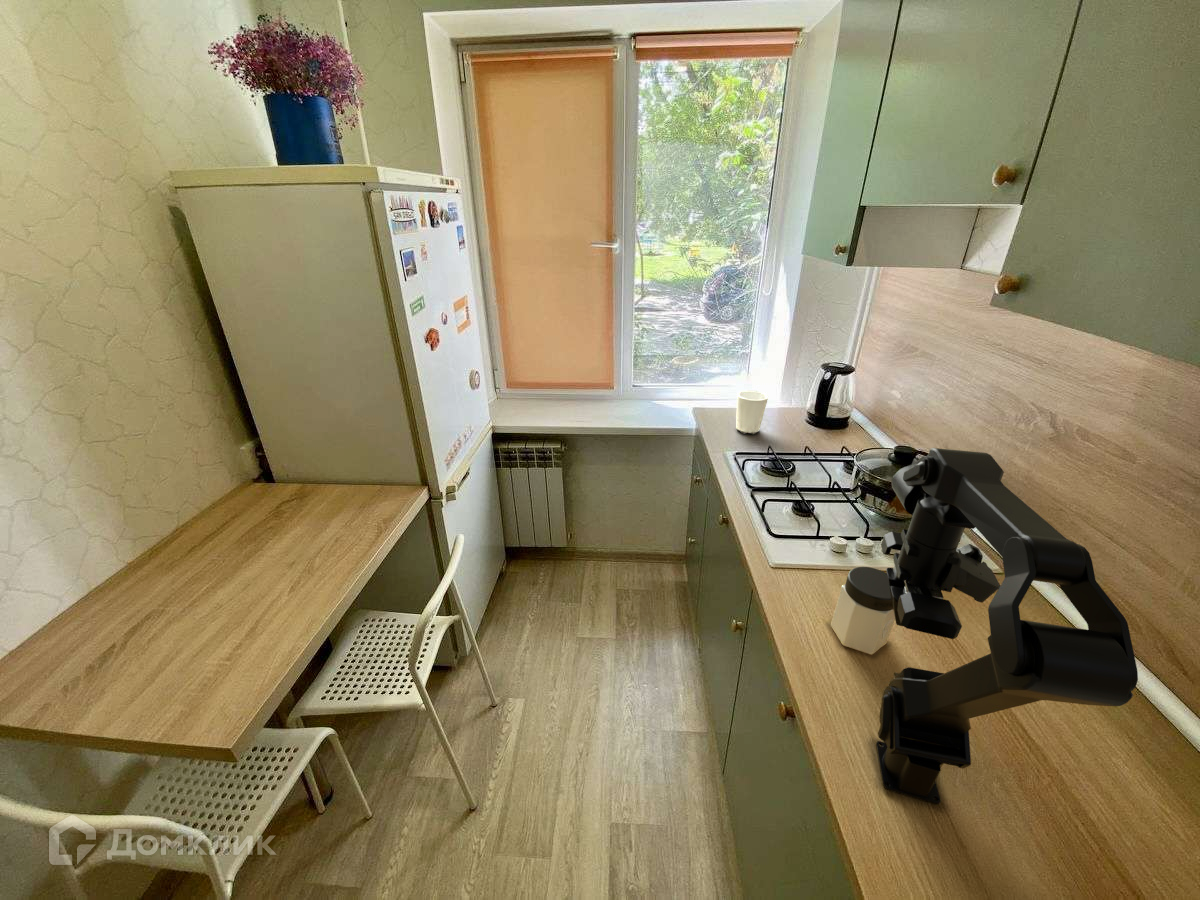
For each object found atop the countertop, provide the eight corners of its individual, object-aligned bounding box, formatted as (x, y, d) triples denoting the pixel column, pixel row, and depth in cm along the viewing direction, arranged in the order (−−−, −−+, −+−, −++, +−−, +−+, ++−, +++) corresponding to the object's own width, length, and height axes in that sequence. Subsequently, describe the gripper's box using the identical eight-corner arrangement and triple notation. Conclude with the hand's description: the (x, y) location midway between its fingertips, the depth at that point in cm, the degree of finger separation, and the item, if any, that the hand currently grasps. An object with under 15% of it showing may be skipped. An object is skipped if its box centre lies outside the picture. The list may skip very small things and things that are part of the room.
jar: (865, 662, 81) (884, 608, 76) (821, 630, 87) (836, 578, 82) (894, 639, 86) (914, 586, 80) (850, 610, 92) (866, 559, 87)
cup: (731, 424, 172) (735, 389, 166) (759, 425, 170) (765, 391, 165) (734, 435, 163) (739, 399, 157) (764, 437, 162) (770, 401, 156)
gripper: (1034, 599, 55) (985, 693, 61) (981, 512, 70) (947, 595, 77) (920, 575, 58) (886, 668, 65) (894, 497, 74) (868, 578, 81)
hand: (899, 624), depth 72 cm, fingers closed
